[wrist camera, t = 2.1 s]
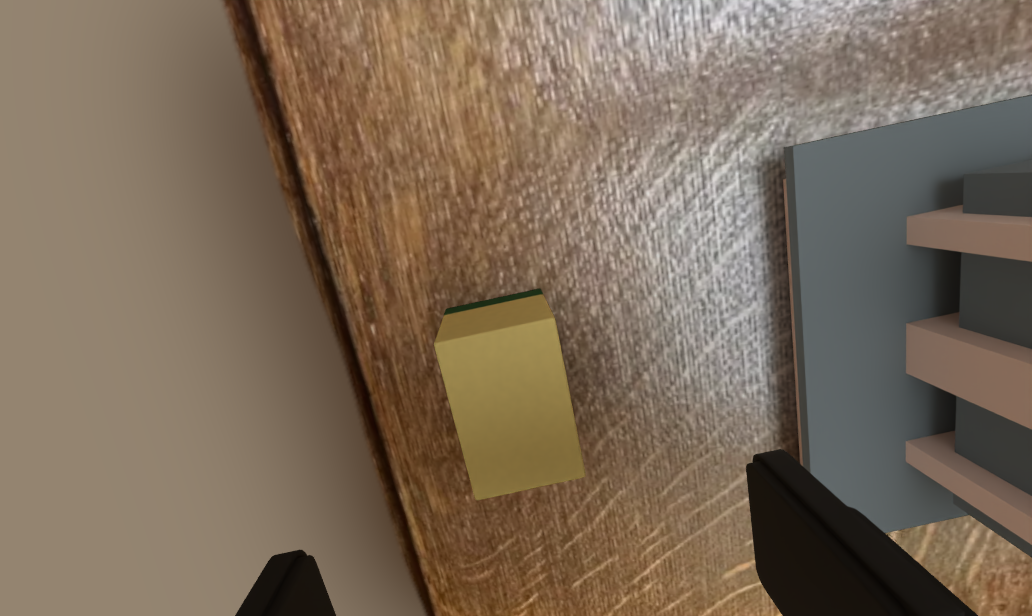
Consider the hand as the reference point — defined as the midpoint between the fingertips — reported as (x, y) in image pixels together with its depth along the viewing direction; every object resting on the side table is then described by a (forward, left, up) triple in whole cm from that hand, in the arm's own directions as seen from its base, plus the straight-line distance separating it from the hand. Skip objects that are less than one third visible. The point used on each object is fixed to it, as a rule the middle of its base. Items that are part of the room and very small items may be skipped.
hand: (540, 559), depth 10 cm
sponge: (0, 0, -11) cm, 11 cm away
